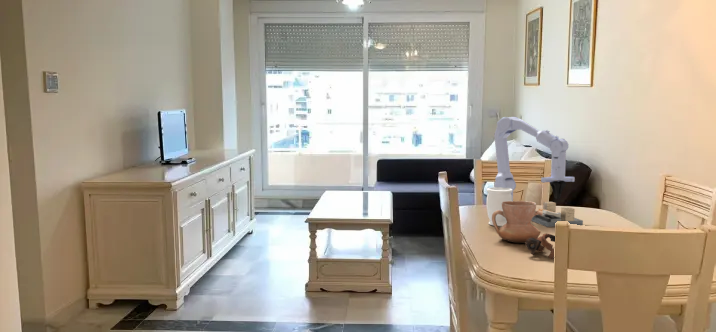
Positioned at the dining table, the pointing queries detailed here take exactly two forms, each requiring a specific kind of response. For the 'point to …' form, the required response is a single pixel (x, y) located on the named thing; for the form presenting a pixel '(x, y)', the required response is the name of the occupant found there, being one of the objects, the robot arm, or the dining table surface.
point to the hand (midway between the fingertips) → (557, 198)
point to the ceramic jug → (517, 221)
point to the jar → (497, 203)
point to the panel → (548, 221)
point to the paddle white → (551, 213)
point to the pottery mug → (542, 241)
